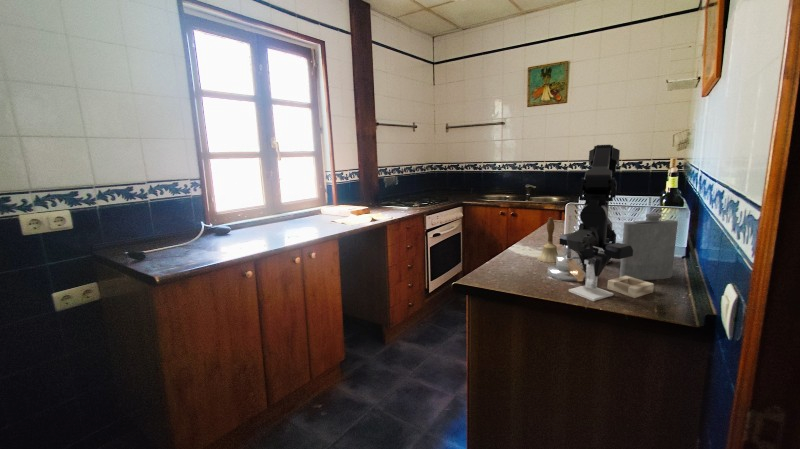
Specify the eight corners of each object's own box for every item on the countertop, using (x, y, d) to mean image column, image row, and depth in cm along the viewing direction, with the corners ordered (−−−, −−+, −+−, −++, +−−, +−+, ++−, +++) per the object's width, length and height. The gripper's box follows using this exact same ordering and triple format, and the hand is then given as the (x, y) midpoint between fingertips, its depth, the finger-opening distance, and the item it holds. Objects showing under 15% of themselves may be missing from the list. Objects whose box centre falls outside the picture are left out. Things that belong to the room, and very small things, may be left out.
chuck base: (565, 266, 126) (565, 261, 126) (596, 276, 116) (597, 270, 115) (539, 272, 121) (539, 267, 121) (569, 283, 111) (569, 277, 110)
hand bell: (563, 263, 130) (566, 219, 127) (539, 262, 132) (540, 219, 129) (558, 256, 138) (560, 215, 135) (535, 256, 140) (537, 215, 137)
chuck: (553, 264, 122) (554, 242, 121) (576, 264, 121) (577, 242, 119) (567, 283, 105) (568, 257, 104) (593, 283, 104) (594, 257, 102)
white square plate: (587, 286, 108) (588, 284, 108) (613, 295, 101) (613, 293, 101) (568, 291, 105) (568, 289, 105) (593, 301, 98) (593, 299, 98)
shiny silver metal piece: (592, 283, 105) (594, 255, 104) (601, 286, 102) (603, 258, 101) (580, 286, 103) (581, 258, 102) (589, 290, 100) (591, 261, 99)
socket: (625, 283, 109) (626, 275, 109) (653, 292, 102) (653, 283, 102) (607, 288, 106) (607, 280, 106) (634, 297, 99) (635, 289, 98)
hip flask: (666, 274, 116) (673, 211, 112) (676, 278, 112) (683, 214, 108) (617, 276, 115) (622, 214, 111) (625, 281, 111) (631, 216, 107)
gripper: (546, 218, 104) (544, 270, 107) (606, 229, 87) (602, 291, 91) (574, 214, 109) (571, 264, 112) (636, 224, 92) (631, 282, 95)
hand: (591, 274), depth 102 cm, fingers closed on shiny silver metal piece, 3 cm apart
